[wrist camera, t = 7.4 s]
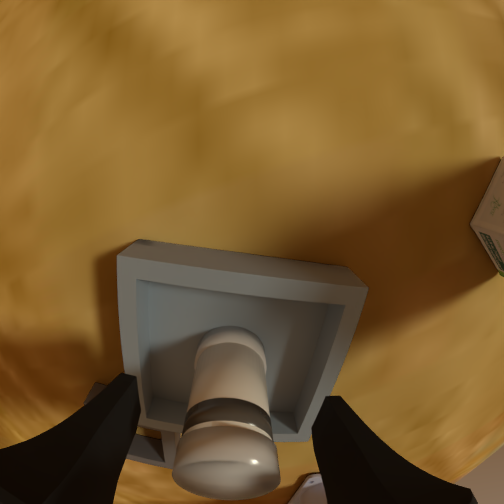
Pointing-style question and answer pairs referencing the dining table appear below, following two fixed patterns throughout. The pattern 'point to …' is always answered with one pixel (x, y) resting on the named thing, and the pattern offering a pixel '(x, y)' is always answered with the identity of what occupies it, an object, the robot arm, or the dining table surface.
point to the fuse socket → (148, 442)
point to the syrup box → (492, 219)
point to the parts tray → (234, 314)
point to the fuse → (228, 421)
